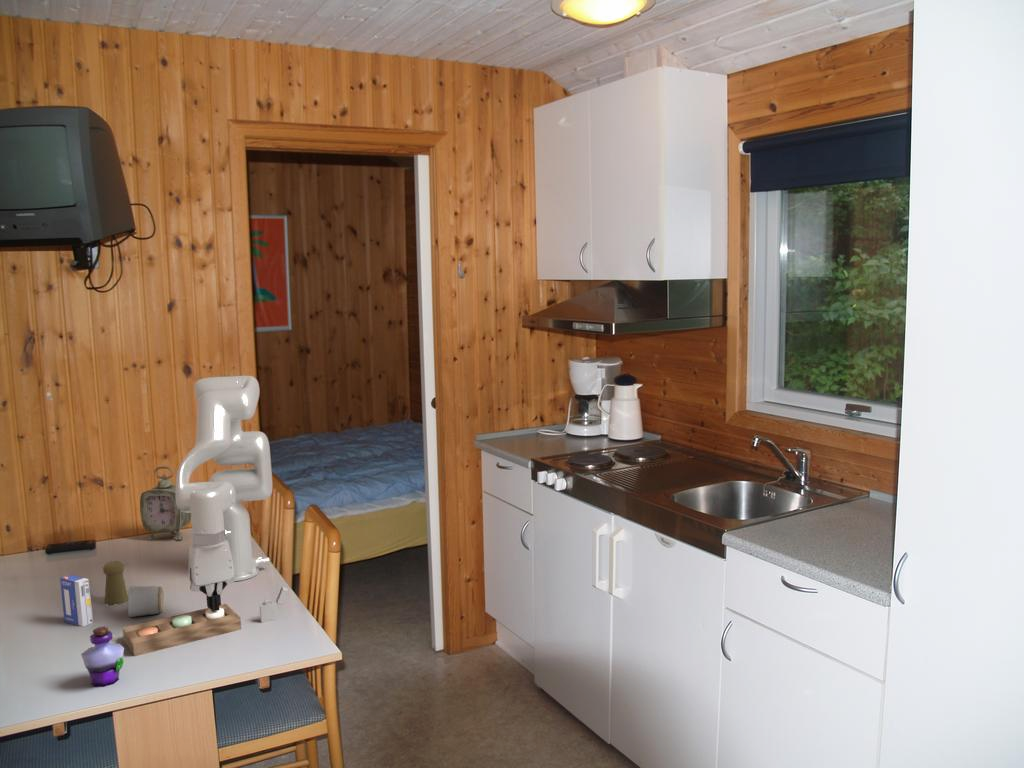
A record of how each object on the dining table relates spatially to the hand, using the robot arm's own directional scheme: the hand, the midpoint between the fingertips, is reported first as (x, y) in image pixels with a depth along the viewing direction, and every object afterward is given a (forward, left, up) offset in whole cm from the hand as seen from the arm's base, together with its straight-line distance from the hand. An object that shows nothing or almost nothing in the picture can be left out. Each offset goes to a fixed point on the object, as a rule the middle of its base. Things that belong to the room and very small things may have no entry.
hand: (214, 609), depth 221 cm
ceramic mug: (+12, -22, -5) cm, 25 cm away
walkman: (+27, -26, -5) cm, 38 cm away
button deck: (+8, 0, -5) cm, 9 cm away
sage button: (+8, 0, -3) cm, 8 cm away
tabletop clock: (-11, -90, -5) cm, 91 cm away
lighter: (-14, +5, -5) cm, 15 cm away
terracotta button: (+16, 0, -4) cm, 16 cm away
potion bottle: (+28, +16, -5) cm, 33 cm away
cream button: (0, 0, -3) cm, 3 cm away
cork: (+16, -36, -5) cm, 40 cm away
